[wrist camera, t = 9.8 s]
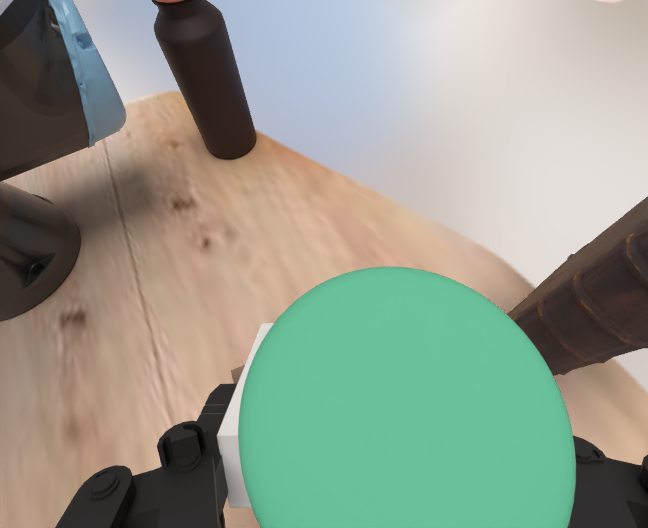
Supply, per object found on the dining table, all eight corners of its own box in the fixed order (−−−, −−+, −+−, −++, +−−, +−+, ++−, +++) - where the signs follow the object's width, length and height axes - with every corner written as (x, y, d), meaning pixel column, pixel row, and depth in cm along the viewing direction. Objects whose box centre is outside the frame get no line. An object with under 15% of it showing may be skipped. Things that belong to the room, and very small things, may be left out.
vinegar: (200, 135, 47) (115, -48, 29) (245, 117, 48) (190, -69, 31) (217, 167, 44) (134, -13, 27) (264, 148, 46) (216, -37, 28)
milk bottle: (388, 533, 20) (776, 1347, 2) (274, 463, 22) (-35, 571, 4) (432, 405, 23) (746, 284, 5) (328, 353, 25) (290, 133, 7)
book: (498, 398, 31) (914, 299, 8) (447, 332, 34) (657, 127, 11) (627, 307, 34) (1173, 62, 12) (570, 253, 37) (921, -25, 15)
